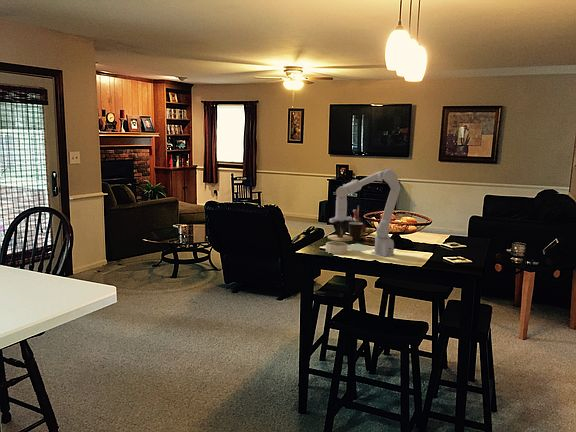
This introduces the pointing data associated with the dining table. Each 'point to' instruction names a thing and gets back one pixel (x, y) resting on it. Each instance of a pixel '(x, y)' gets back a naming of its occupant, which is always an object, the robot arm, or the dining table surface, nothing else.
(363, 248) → the mat
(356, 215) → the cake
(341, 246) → the bowl
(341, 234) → the lid
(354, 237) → the coffee mug
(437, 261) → the dining table surface
